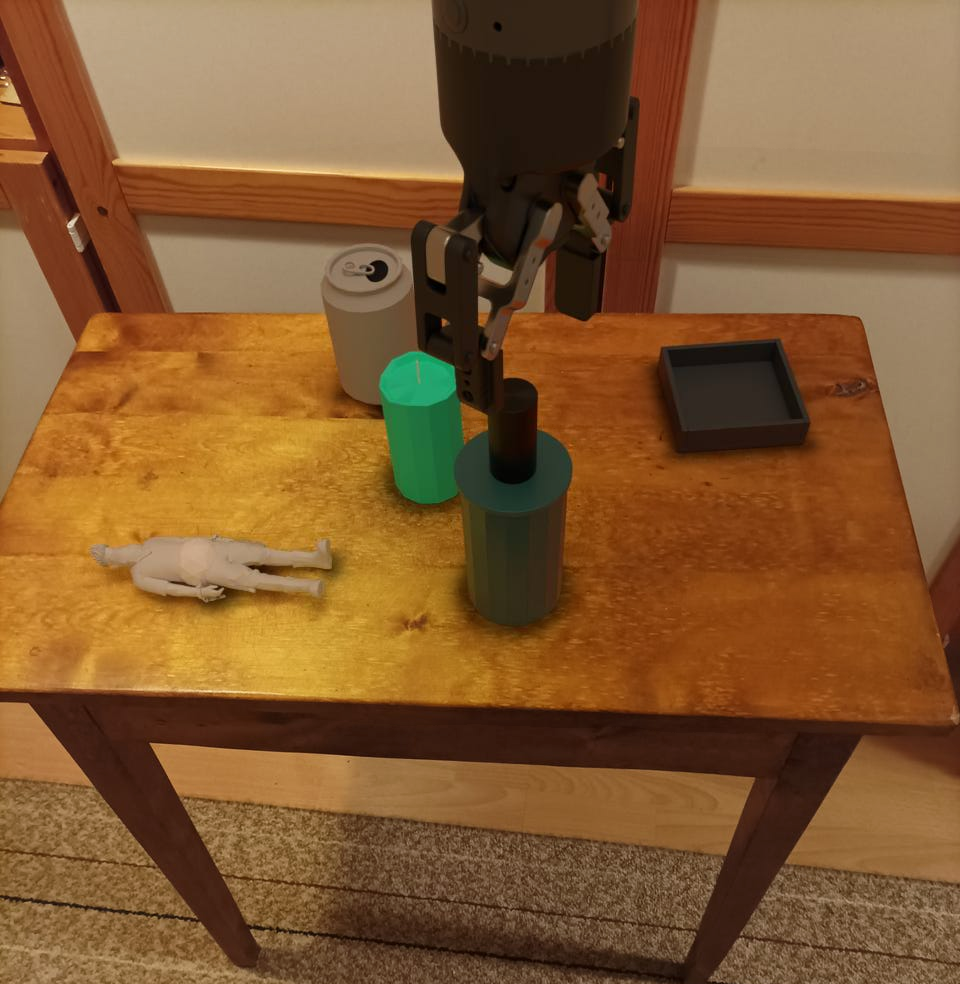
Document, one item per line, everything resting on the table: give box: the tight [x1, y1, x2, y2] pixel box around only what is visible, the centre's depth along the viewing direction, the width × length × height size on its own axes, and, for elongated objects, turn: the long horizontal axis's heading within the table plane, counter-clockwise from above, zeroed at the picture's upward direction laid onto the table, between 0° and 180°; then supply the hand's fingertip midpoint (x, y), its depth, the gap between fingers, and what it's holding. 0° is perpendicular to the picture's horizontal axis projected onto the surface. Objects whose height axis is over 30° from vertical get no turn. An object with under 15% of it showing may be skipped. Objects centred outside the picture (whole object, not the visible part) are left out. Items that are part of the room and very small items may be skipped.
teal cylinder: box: [459, 489, 569, 627], centre depth 64 cm, size 7×7×12 cm
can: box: [320, 242, 421, 406], centre depth 77 cm, size 8×8×12 cm
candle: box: [379, 352, 465, 505], centre depth 70 cm, size 6×6×12 cm
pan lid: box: [454, 377, 574, 517], centre depth 56 cm, size 8×8×7 cm
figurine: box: [88, 533, 333, 603], centre depth 69 cm, size 7×4×18 cm
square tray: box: [657, 337, 812, 454], centre depth 78 cm, size 10×10×2 cm
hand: (530, 358), depth 46 cm, fingers open, 8 cm apart
